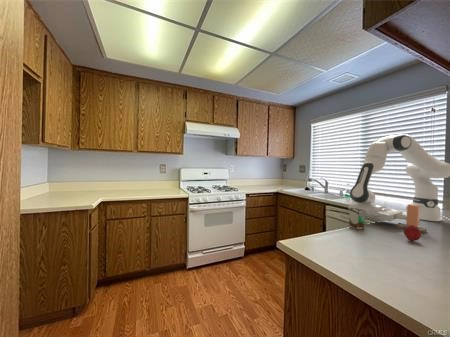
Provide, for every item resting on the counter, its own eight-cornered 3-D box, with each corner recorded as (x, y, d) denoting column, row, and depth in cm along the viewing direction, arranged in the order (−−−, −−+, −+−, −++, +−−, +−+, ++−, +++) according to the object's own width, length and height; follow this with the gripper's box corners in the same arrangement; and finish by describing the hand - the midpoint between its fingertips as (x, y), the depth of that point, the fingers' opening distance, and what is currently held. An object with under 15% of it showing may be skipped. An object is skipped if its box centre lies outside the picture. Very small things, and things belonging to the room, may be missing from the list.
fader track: (395, 227, 115) (395, 223, 115) (398, 225, 118) (398, 222, 117) (424, 233, 105) (424, 229, 105) (426, 232, 108) (427, 228, 108)
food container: (371, 232, 104) (372, 213, 103) (358, 231, 104) (359, 212, 104) (359, 225, 116) (360, 208, 115) (347, 224, 117) (348, 207, 116)
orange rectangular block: (406, 226, 111) (407, 204, 111) (408, 225, 114) (409, 204, 113) (416, 228, 107) (418, 206, 107) (419, 227, 110) (420, 205, 110)
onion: (424, 244, 89) (425, 226, 89) (409, 242, 90) (410, 225, 90) (414, 239, 95) (415, 222, 95) (400, 238, 96) (401, 221, 96)
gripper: (371, 209, 118) (402, 214, 106) (384, 206, 129) (413, 210, 118) (370, 220, 118) (401, 226, 106) (383, 215, 129) (412, 221, 118)
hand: (407, 218), depth 112 cm, fingers closed, pressing on orange rectangular block
